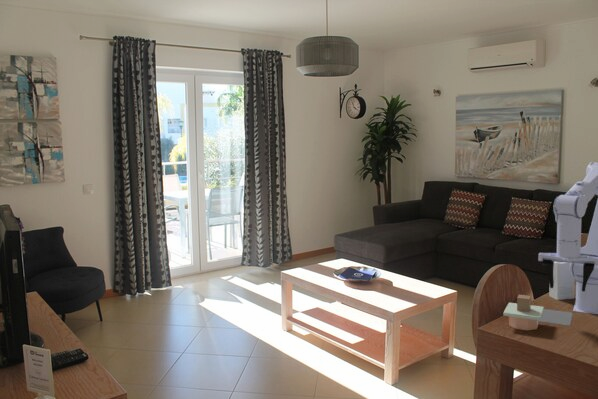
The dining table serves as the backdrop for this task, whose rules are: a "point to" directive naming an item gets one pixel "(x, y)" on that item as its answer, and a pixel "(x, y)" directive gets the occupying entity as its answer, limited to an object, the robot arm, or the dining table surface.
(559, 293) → the skincare box
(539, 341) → the dining table surface
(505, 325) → the dining table surface
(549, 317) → the grey mat
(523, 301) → the sage lid
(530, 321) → the terracotta bowl
